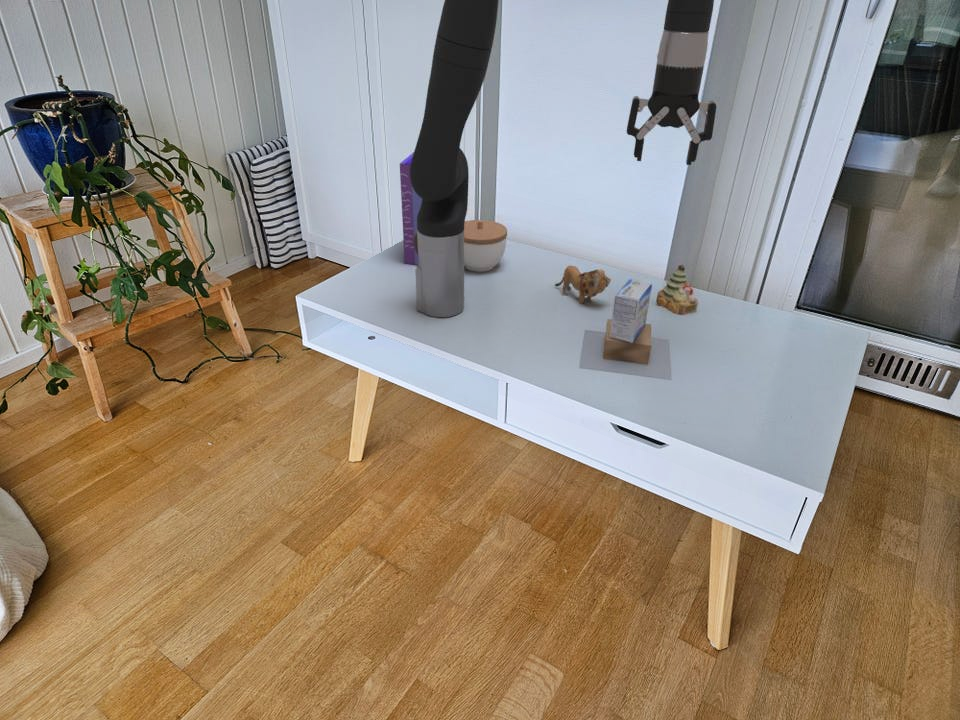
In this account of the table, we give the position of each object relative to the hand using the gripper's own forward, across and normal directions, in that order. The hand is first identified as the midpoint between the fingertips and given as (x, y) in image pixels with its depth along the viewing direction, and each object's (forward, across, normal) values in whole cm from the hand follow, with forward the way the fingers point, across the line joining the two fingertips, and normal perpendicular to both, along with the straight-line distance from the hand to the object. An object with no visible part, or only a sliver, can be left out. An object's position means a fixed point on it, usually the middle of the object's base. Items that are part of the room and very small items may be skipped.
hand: (663, 162), depth 112 cm
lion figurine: (+32, -12, +6) cm, 35 cm away
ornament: (+32, +8, +7) cm, 34 cm away
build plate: (+32, -2, -15) cm, 35 cm away
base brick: (+31, -2, -14) cm, 34 cm away
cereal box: (+32, -52, +24) cm, 66 cm away
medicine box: (+27, -2, -14) cm, 31 cm away
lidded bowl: (+32, -37, +19) cm, 53 cm away
